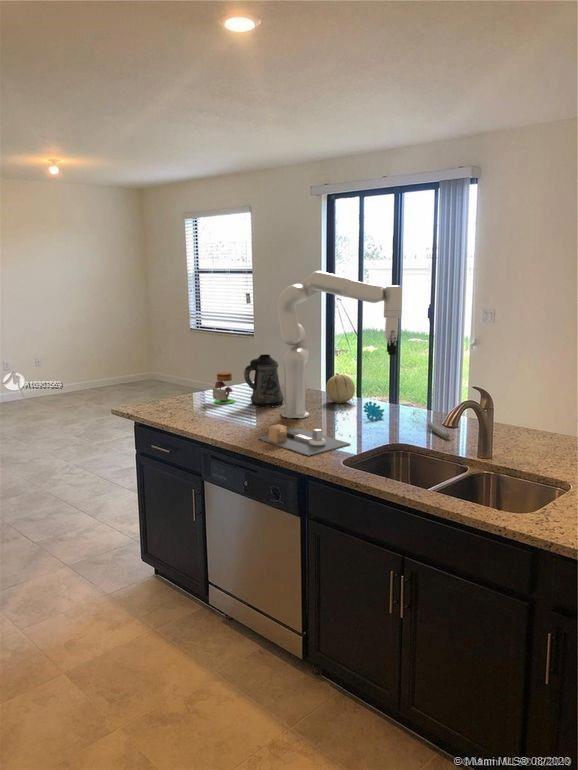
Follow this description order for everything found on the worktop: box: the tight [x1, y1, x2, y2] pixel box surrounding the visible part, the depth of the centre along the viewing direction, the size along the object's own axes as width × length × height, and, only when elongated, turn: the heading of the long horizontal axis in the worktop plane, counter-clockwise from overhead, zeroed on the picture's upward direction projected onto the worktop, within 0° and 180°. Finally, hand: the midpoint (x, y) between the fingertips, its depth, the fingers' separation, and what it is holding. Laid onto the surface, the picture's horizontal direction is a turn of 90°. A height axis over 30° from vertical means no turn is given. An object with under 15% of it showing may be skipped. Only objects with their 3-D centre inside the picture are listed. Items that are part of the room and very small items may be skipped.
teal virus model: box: [362, 401, 385, 422], centre depth 272 cm, size 11×6×10 cm
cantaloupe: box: [325, 373, 356, 404], centre depth 302 cm, size 15×15×15 cm
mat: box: [257, 428, 351, 457], centre depth 235 cm, size 30×22×1 cm
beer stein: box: [243, 354, 285, 408], centre depth 297 cm, size 16×19×25 cm
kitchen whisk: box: [409, 408, 451, 440], centre depth 252 cm, size 6×34×6 cm, turn 13°
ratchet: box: [287, 428, 326, 447], centre depth 235 cm, size 24×6×6 cm, turn 41°
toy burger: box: [211, 371, 236, 405], centre depth 305 cm, size 12×13×15 cm
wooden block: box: [268, 423, 288, 444], centre depth 234 cm, size 5×5×6 cm
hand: (391, 353), depth 263 cm, fingers open, 9 cm apart
